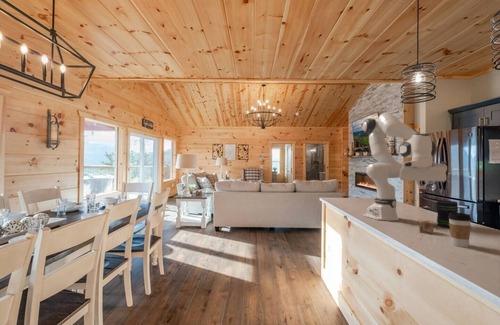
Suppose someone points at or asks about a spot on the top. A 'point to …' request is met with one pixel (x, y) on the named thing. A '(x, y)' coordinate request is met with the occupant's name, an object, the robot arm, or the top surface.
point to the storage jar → (445, 212)
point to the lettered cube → (426, 226)
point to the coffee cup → (460, 229)
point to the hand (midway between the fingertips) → (422, 189)
